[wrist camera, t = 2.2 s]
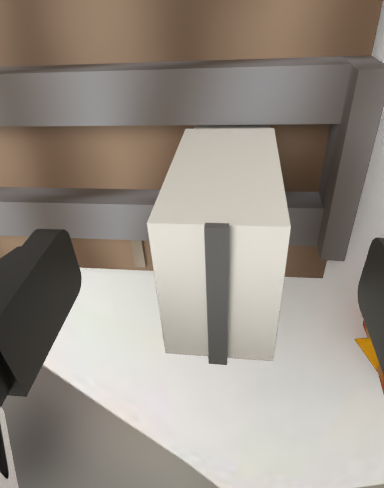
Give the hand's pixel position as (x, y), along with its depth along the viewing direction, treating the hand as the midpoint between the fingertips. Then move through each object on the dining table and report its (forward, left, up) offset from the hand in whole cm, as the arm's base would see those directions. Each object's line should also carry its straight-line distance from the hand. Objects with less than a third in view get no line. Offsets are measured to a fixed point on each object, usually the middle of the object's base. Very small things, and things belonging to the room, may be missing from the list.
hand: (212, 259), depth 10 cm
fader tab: (0, 0, -8) cm, 8 cm away
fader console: (+8, 0, -10) cm, 12 cm away
